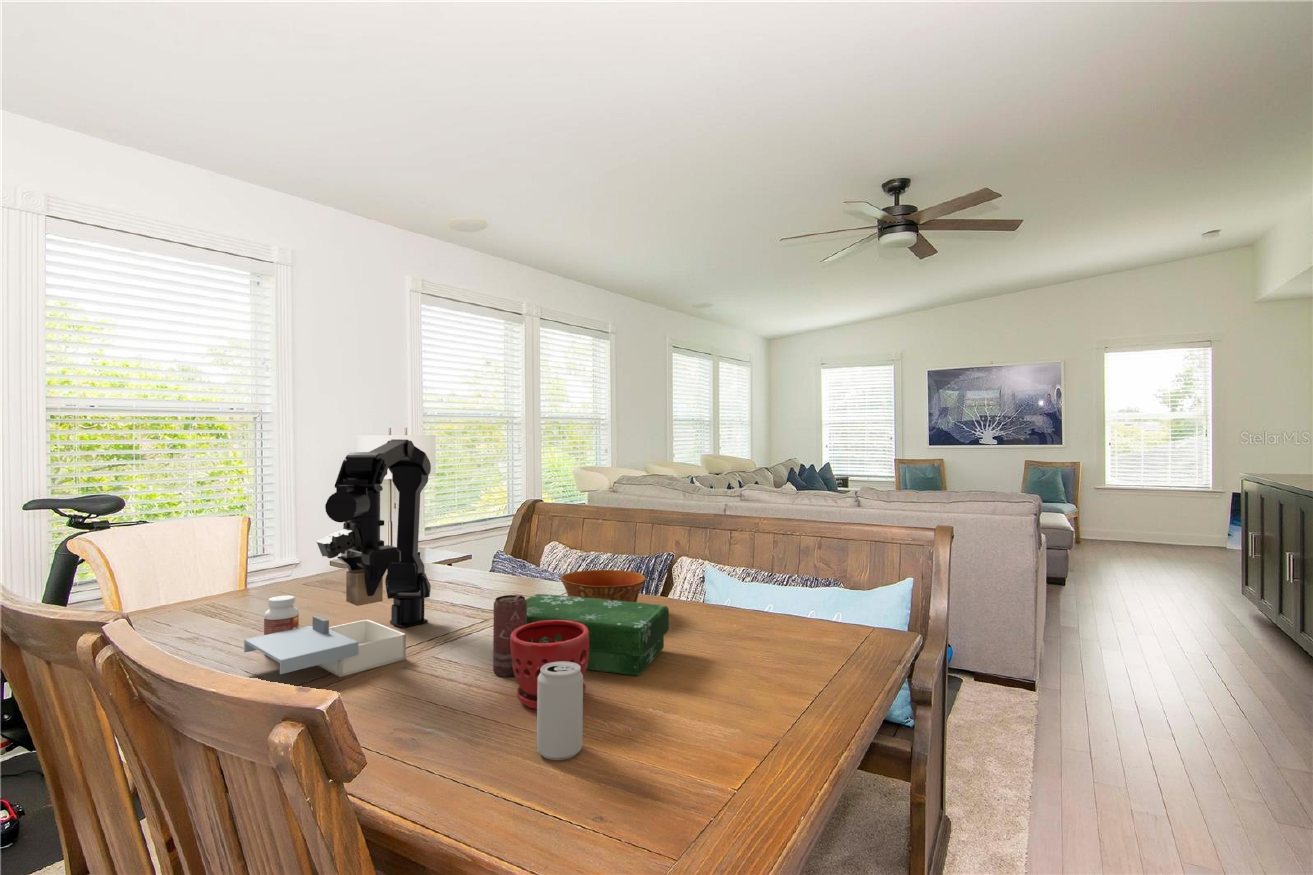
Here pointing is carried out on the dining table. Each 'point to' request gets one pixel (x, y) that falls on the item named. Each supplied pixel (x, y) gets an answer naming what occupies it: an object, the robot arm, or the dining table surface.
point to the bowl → (604, 584)
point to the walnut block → (361, 589)
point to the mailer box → (368, 647)
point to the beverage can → (559, 710)
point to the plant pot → (545, 652)
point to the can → (506, 630)
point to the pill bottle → (281, 615)
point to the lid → (304, 646)
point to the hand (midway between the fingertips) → (364, 593)
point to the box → (608, 629)
